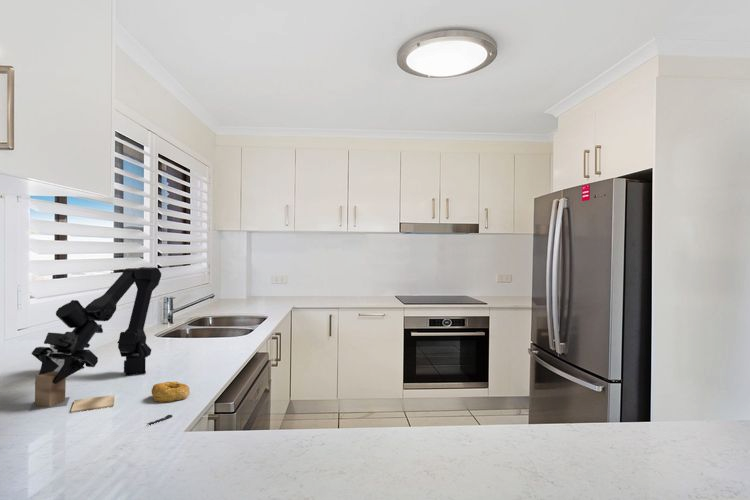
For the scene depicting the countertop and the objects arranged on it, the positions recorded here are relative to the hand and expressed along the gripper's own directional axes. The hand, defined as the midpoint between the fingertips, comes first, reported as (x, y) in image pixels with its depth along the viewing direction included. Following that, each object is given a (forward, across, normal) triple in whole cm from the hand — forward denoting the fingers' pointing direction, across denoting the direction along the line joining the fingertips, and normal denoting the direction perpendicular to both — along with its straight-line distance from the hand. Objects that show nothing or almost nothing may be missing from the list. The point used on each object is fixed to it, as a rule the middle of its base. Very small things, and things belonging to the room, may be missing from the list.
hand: (46, 382), depth 122 cm
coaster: (+2, +13, +7) cm, 15 cm away
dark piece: (+11, +36, -1) cm, 38 cm away
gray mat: (+4, 0, +6) cm, 7 cm away
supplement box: (-17, -26, +27) cm, 41 cm away
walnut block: (+4, 0, +6) cm, 7 cm away
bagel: (-5, +30, +15) cm, 34 cm away
